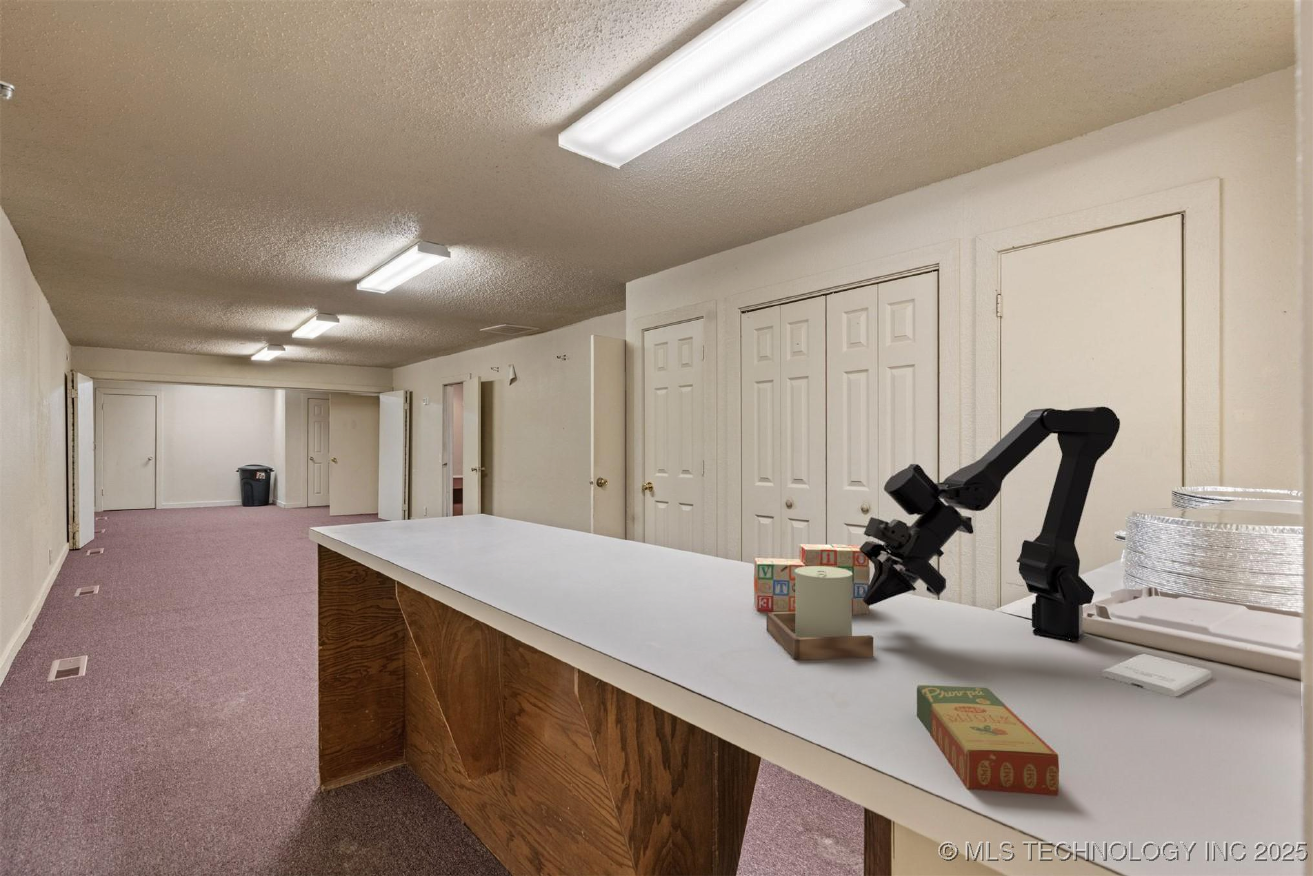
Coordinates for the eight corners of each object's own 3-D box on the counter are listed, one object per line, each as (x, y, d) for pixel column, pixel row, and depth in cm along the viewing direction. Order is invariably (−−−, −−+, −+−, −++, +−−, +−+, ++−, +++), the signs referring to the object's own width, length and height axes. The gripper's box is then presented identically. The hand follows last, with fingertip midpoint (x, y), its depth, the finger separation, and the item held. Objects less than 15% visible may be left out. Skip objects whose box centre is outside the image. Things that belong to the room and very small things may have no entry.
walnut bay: (834, 627, 106) (834, 610, 106) (873, 656, 92) (873, 637, 92) (766, 630, 105) (766, 612, 105) (794, 659, 90) (794, 639, 90)
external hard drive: (1212, 682, 84) (1175, 701, 77) (1140, 663, 91) (1101, 679, 84) (1211, 670, 84) (1175, 688, 77) (1140, 652, 91) (1101, 668, 84)
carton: (965, 793, 56) (964, 747, 57) (914, 717, 72) (914, 681, 72) (1061, 799, 55) (1060, 752, 55) (988, 720, 71) (988, 684, 71)
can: (790, 648, 96) (790, 571, 96) (797, 631, 104) (797, 561, 104) (852, 655, 93) (852, 576, 93) (853, 637, 101) (853, 565, 101)
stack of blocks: (756, 612, 117) (756, 548, 117) (753, 603, 123) (753, 542, 123) (869, 614, 115) (869, 549, 115) (861, 606, 121) (861, 544, 122)
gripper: (869, 495, 109) (810, 559, 108) (926, 506, 91) (856, 582, 89) (911, 538, 110) (853, 601, 109) (976, 557, 91) (907, 634, 90)
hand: (865, 603), depth 99 cm, fingers closed
